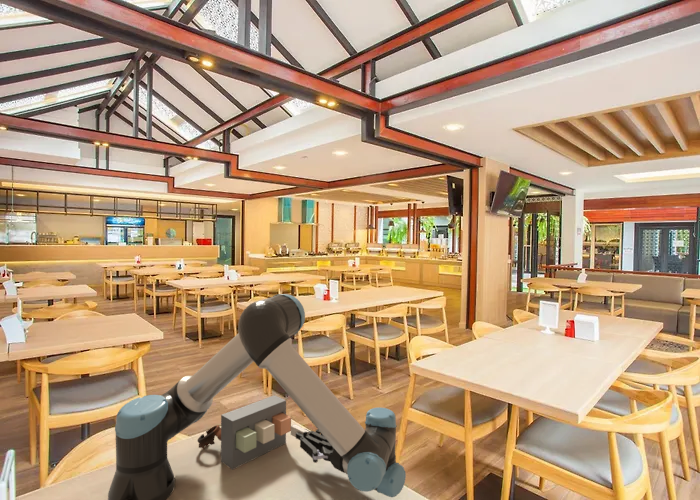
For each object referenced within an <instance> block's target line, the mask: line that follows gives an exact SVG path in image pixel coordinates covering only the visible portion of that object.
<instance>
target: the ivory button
mask: <svg viewBox="0 0 700 500" xmlns="http://www.w3.org/2000/svg"><path fill="white" fill-rule="evenodd" d="M255 432H256V440H258V441H259V442H261V443H263V444H264V443H267V442H269V441H271V440H273V439H274V424H273V423H271V422H269V421H267V420H265V419H264V420H262V421H259V422H257V423H255Z"/></svg>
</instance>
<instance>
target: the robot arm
mask: <svg viewBox="0 0 700 500" xmlns="http://www.w3.org/2000/svg"><path fill="white" fill-rule="evenodd" d="M305 319H306V312H305V309H304V306H303V304H302V303H301V302H300V300H299V299H298V298H297V297H296V296H294V295H291V294H288V293H283V294H282V293H278V294H274V295H273V296H272V297H267V298H264V299H260V300H257V301H254V302H252V303H250V304H249V305H248V306H247V307H245V308H244V309H243V311H242V312H241V314H240V316H239V319H238V322H237V323H238V324H237V325H238V327H237V331H238V333H237V334H236V335H235V336H234V337H233V338H232V339H230V340H229V341H228V342H227V343H226V344H225V345H224V346H222V348H221V349H219V351H217V352H216V353H215V354H214V355H213V356H212V357H211V358H210V359H209V360H208V361H207V362H206V363H205V364H203V366H201V367H200V368H199V369H198V370H197V371H195V373H194V374H192V375H185V376H183V377H182V378H181V379H180V380H178V382H176V383H175V384H174V385H173V386H172V387H171V388H170V389H168V391H165V393H162V394H161V395H160V394H147V395H144V396H142V397H137V398H134V399H132V400H130V401H129V402H126V403H125V404H124V405H123V406H121V408H120V409H119V411H118V412H117V414H116V418H115V426H114V432H115V472H114V475H113V478H112V480H111V484H110V487H109V489H108V493H107V500H167V499H168V498H169V497H170V496H171V495H172V493H173V492H174V490H175V485H176V484H175V483H176V482H175V481H176V479H175V475H174V472H173V469H172V467H171V464H170V461H169V459H168V442H169V440H171V439H172V438H174V437H175V436H177V435H178V434H180V433H181V432H183V431H184V430H186V429H187V428H189V427H190V426H191V425H193V424H195V423H197V422H198V421H200V419H202V417H204V415H205V414H206V413H207V411H208V410H209V409H210V407H212V405H213V399H214V397H215V396H216V395H218V394H219V393H220V392H221V391H222V390H223V389H224V388H226V387H227V386H228V385H229V384H230V383H231V382H232V381H234V379H235V378H237V377H238V376H239V375H241V373H242V372H244V371H245V370H246V369H247V368H248V367H249V366H250V365H251V364H253V363H254V364H255V365H256V366H257V367H258V368H259V369H262V370H263V369H265V370H267V372H269V374H270V375H271V376H272V378H273V379H274V380H275V381H276V382H277V383H278V384H279V386H280V387H281V388H282V389H283V390H284V391H285V393H286V394H287V395H288V396H289V397H290V398H291V400H292V401H293V402H294V403H295V404H296V405H297V407H298V408H299V409H300V410H301V411H302V413H303V414H304V416H306V417H307V418H308V419H309V420H310V422H311V423H312V424H313V426H315V428H316V430H315V431H314V430H309V429H306V428H303V427H301V426H299V425H297V424H295V423H294V424H291V431H290V436H292V437H295V439H297V440H299V448H301V449H302V450H303V451H304V452H305V453H306V454H307V455H308V456H309V457H310V458H311V459H312V461H313V463H318V462H319V460H321V459H322V460H324V461H327V462H330V463H331V465H332V466H333V468H334V469H336V470H337V471H340V472H341V473H343V474H346V475H347V478H348V481H349V482H350V484H351V486H352V487H354V488H355V489H357V490H358V491H361V492H372V491H376V492H377V493H379V494H382V495H384V496H386V497H389V498H395V497H397V496H398V495H399V494H400V493H401V491H402V490H403V489H404V486H405V484H406V483H405V482H406V478H407V477H406V475H407V473H406V471H405V468H404V466H403V465H402V464H400V463H399V462H397V461H396V460H397V458H396V444H397V443H396V441H397V440H396V439H397V437H396V436H397V417H396V414H395V412H394V411H393V410H391V409H390V408H387V407H372V408H371V409H368V411H367V412H366V414H365V422H364V424H365V429H364V427H363V426H362V425H361V424H360V423H359V422H358V420H357V419H356V418H355V417H354V416H353V415H352V413H351V412H350V411H349V410H348V409H347V407H345V405H344V404H343V403H342V402H341V401H340V400H339V398H337V396H336V395H335V394H334V393H333V391H332V390H331V389H330V388H329V387H328V386H327V385H326V383H324V381H323V380H322V378H320V377H319V375H318V374H317V373H316V372H315V371H314V369H312V367H311V366H310V365H309V364H308V363H307V361H305V359H304V358H303V357H302V356H301V354H300V353H299V352H298V351H297V350H296V348H294V346H293V343H292V341H293V339H292V338H291V336H293V335H296V334H298V333H299V332H300V330H302V328H303V327H304V324H305V321H306V320H305Z"/></svg>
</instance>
